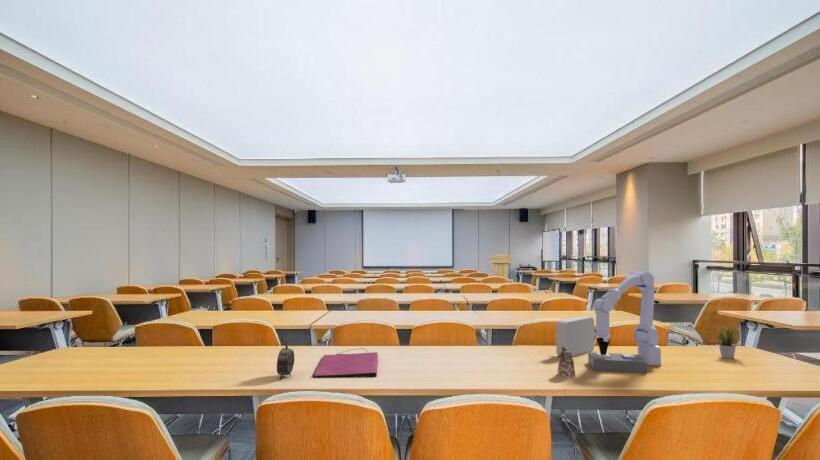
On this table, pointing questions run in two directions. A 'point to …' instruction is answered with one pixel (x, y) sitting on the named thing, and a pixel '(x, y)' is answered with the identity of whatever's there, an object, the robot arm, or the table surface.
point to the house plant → (727, 343)
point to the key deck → (617, 363)
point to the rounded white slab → (575, 335)
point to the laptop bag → (348, 365)
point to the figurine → (566, 364)
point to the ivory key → (603, 355)
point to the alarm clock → (285, 361)
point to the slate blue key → (628, 356)
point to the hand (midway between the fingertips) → (603, 354)
